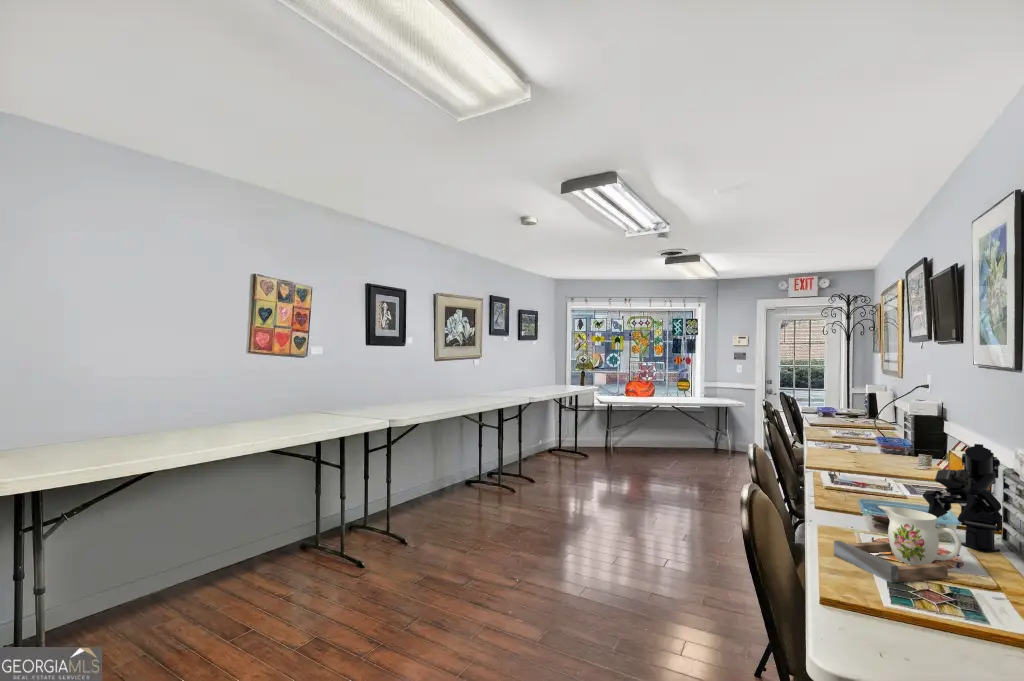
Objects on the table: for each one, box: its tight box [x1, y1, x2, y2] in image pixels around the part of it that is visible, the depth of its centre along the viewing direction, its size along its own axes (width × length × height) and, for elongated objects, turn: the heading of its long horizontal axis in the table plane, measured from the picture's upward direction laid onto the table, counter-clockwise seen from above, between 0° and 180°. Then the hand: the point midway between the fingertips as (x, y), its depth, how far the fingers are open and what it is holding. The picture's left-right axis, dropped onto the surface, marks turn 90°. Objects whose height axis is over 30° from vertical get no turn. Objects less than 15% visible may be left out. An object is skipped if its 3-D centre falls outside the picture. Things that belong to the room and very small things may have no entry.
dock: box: [833, 540, 949, 583], centre depth 142 cm, size 17×18×4 cm
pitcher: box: [877, 504, 962, 565], centre depth 144 cm, size 11×18×14 cm, turn 45°
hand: (943, 520), depth 147 cm, fingers open, 9 cm apart
